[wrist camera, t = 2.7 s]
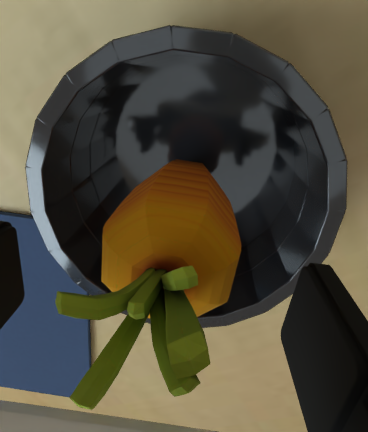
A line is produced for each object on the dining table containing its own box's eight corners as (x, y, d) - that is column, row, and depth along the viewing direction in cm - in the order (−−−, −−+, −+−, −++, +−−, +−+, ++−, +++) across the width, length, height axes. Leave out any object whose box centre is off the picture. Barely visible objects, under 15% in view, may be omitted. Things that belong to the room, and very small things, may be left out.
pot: (77, 28, 17) (5, 4, 11) (337, 61, 17) (406, 53, 11) (84, 249, 23) (41, 307, 17) (273, 276, 23) (294, 346, 17)
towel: (-122, 193, 23) (-128, 196, 22) (87, 223, 22) (85, 226, 22) (-59, 372, 31) (-63, 376, 31) (92, 396, 31) (90, 400, 30)
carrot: (163, 214, 21) (73, 474, 7) (141, 144, 19) (-38, 320, 5) (234, 200, 20) (282, 465, 6) (219, 125, 18) (242, 276, 4)
